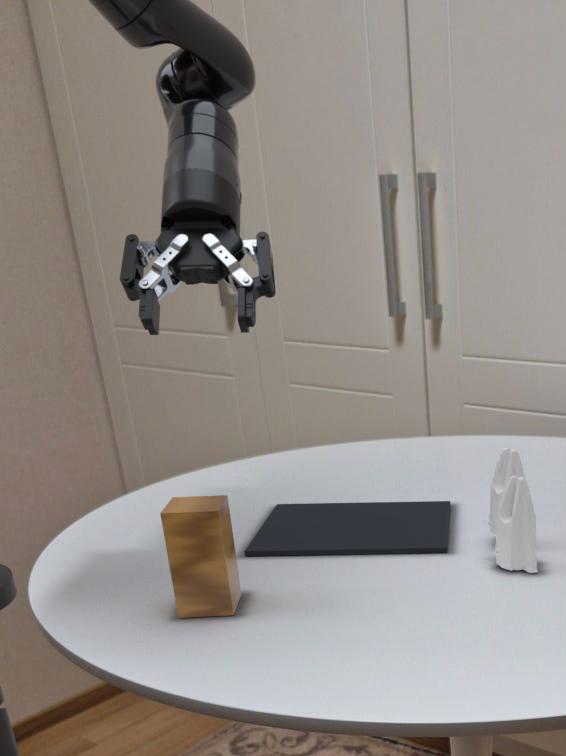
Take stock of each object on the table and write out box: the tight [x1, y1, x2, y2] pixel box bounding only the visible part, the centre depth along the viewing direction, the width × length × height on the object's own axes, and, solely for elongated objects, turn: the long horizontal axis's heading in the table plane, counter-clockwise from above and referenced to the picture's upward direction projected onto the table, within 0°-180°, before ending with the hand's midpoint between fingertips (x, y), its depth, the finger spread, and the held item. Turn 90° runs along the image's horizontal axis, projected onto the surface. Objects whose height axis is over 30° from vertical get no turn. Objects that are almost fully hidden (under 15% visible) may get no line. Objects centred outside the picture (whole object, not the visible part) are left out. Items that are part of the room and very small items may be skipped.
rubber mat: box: [243, 500, 451, 557], centre depth 104 cm, size 22×18×1 cm
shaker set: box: [487, 447, 539, 574], centre depth 93 cm, size 12×4×11 cm, turn 5°
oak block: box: [160, 494, 242, 619], centre depth 82 cm, size 5×5×10 cm
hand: (197, 328), depth 84 cm, fingers open, 8 cm apart
